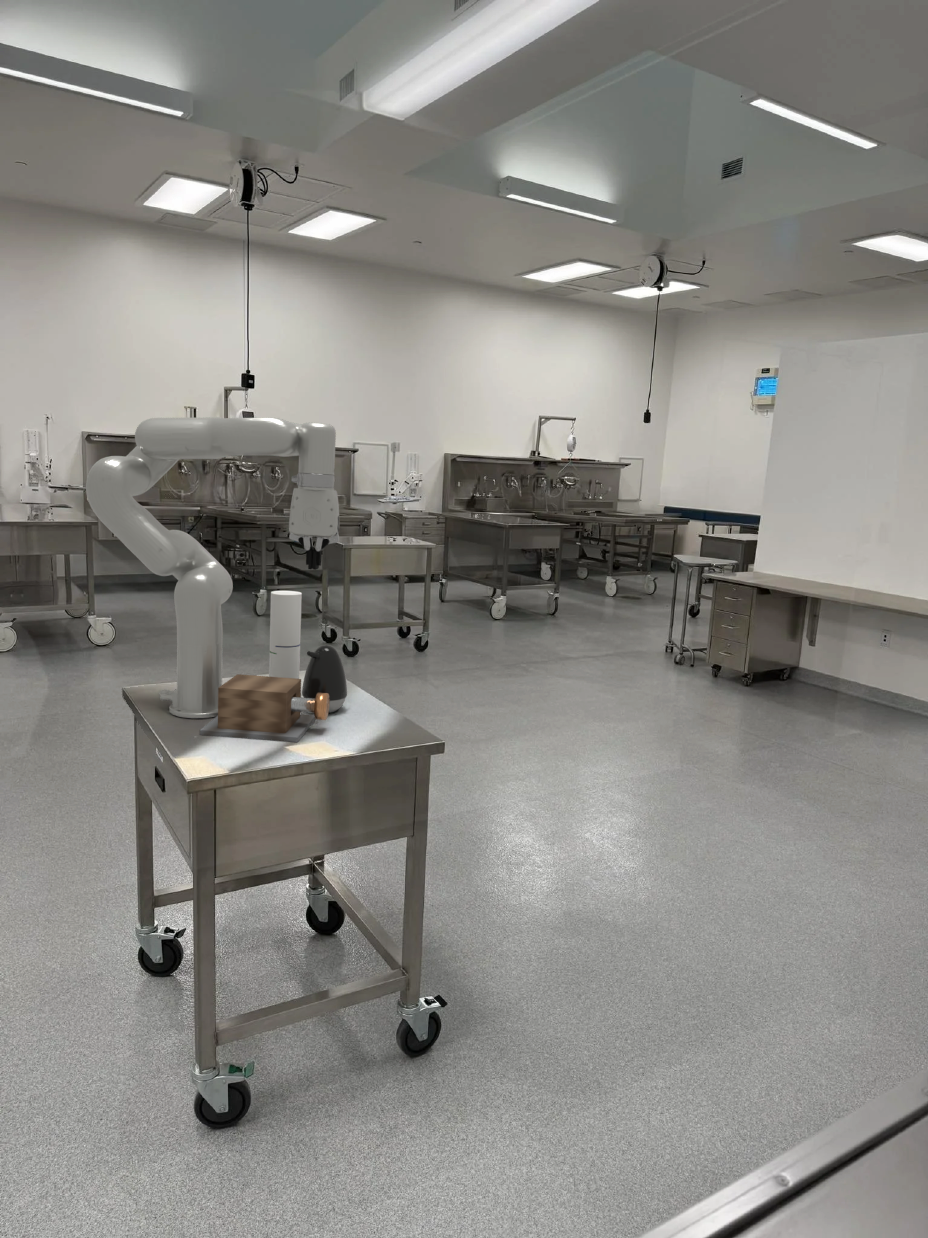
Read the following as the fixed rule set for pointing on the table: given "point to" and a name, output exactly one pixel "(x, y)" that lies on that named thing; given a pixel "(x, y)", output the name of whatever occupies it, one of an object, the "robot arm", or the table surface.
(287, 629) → the cylindrical container
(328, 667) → the black rounded figure
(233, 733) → the block
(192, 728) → the table surface
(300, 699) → the shaft
